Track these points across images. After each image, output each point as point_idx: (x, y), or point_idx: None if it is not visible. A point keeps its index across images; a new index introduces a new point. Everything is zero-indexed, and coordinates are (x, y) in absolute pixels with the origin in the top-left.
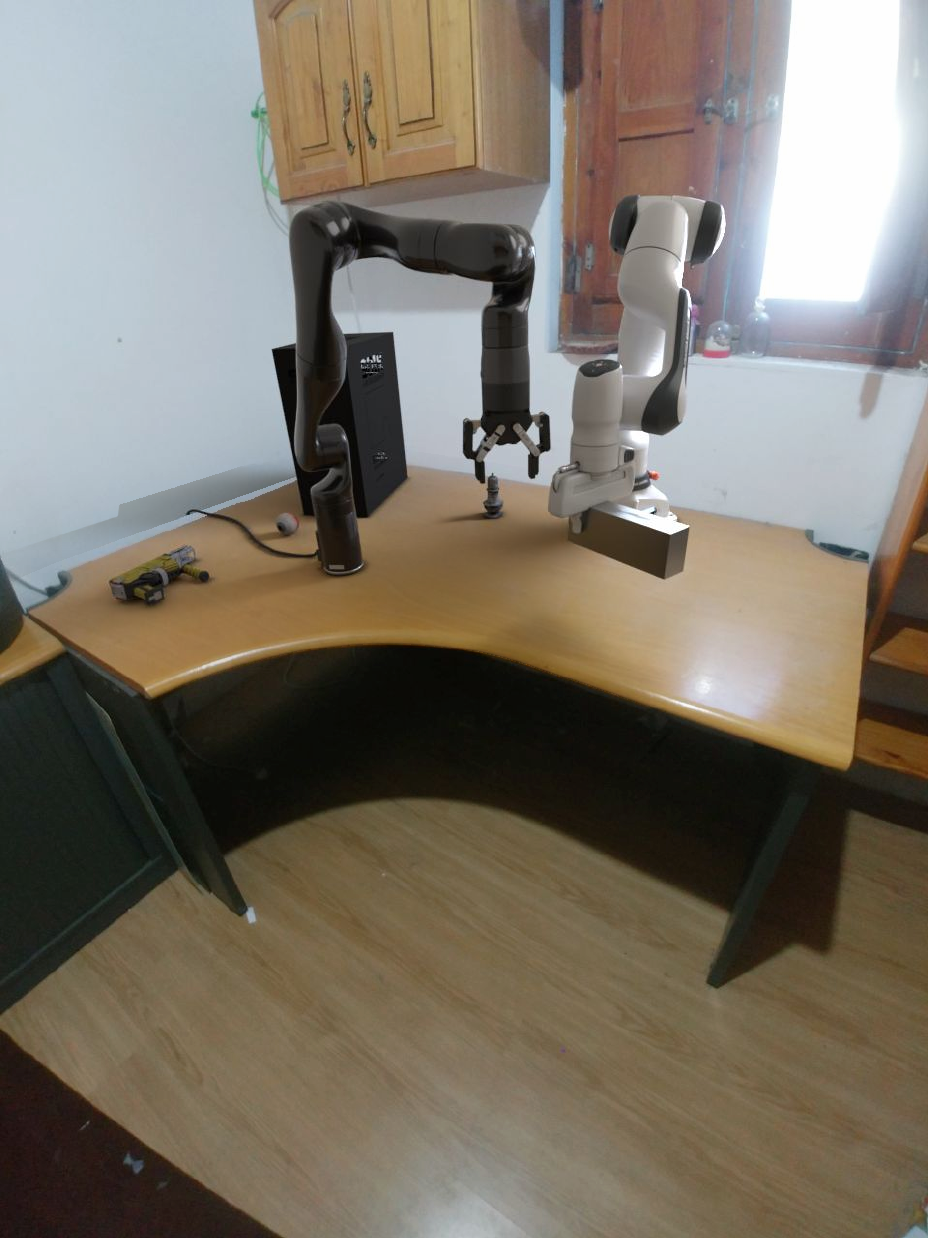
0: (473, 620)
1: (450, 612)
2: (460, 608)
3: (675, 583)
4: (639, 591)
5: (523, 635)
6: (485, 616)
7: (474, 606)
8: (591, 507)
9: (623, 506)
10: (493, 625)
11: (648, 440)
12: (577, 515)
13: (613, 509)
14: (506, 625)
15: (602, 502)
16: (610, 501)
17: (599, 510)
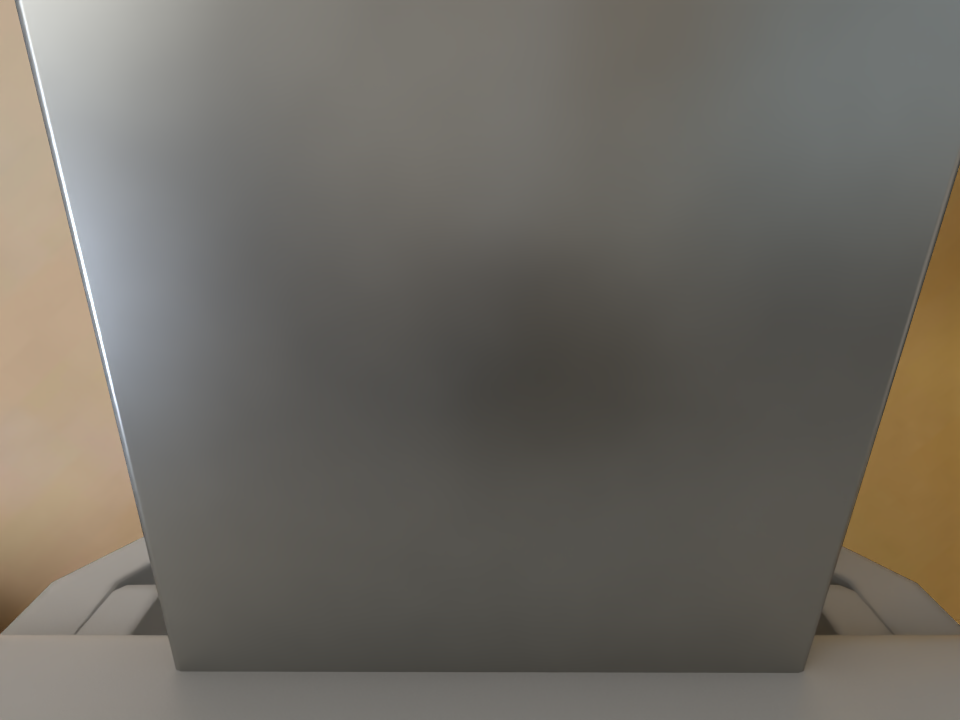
0: (948, 451)
1: (944, 544)
2: (897, 544)
3: (10, 79)
4: None
5: (940, 231)
6: (894, 445)
7: (853, 524)
8: (804, 625)
9: (119, 95)
10: (938, 374)
11: None
12: (925, 619)
13: (577, 139)
14: (908, 340)
15: (360, 665)
16: (168, 598)
17: (884, 382)
